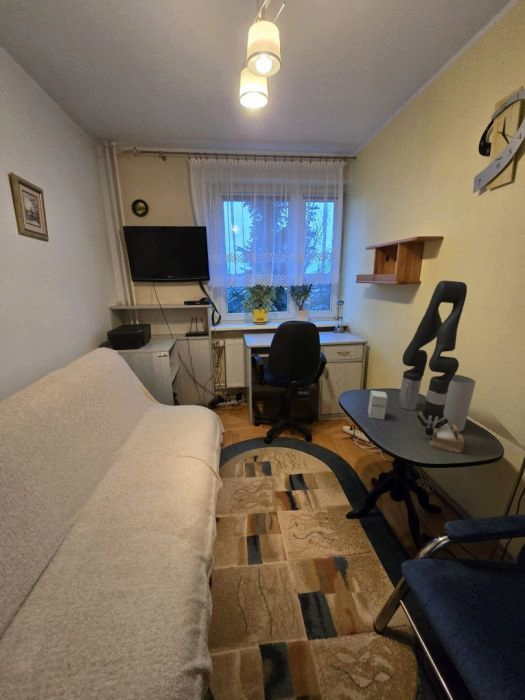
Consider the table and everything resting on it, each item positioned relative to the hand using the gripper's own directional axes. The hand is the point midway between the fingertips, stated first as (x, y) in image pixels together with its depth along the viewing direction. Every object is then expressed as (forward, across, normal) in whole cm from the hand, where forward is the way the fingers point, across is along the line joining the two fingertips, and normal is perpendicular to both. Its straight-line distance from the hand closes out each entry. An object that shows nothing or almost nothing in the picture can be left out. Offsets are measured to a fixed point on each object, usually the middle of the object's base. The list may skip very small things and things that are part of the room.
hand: (428, 434), depth 129 cm
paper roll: (-1, -6, 0) cm, 6 cm away
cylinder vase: (+2, -12, -17) cm, 21 cm away
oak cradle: (+2, -6, 0) cm, 7 cm away
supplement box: (+2, +22, -14) cm, 26 cm away
